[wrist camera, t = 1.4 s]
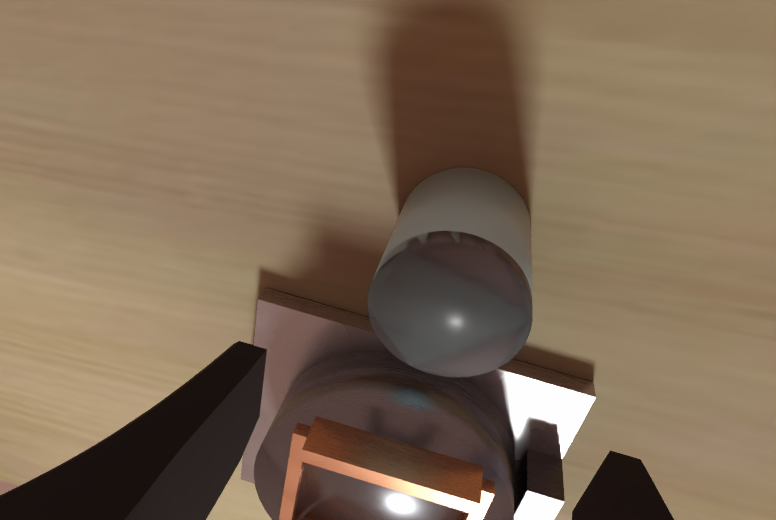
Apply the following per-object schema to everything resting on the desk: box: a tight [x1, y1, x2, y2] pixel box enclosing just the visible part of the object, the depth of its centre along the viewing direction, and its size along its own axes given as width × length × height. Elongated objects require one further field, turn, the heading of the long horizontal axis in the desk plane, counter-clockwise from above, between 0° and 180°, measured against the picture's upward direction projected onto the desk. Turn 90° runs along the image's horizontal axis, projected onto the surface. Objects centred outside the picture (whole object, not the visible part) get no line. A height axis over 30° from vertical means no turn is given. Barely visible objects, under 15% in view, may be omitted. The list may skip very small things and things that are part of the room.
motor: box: [241, 288, 596, 520], centre depth 23 cm, size 13×11×5 cm
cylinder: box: [367, 167, 532, 377], centre depth 18 cm, size 4×4×5 cm
